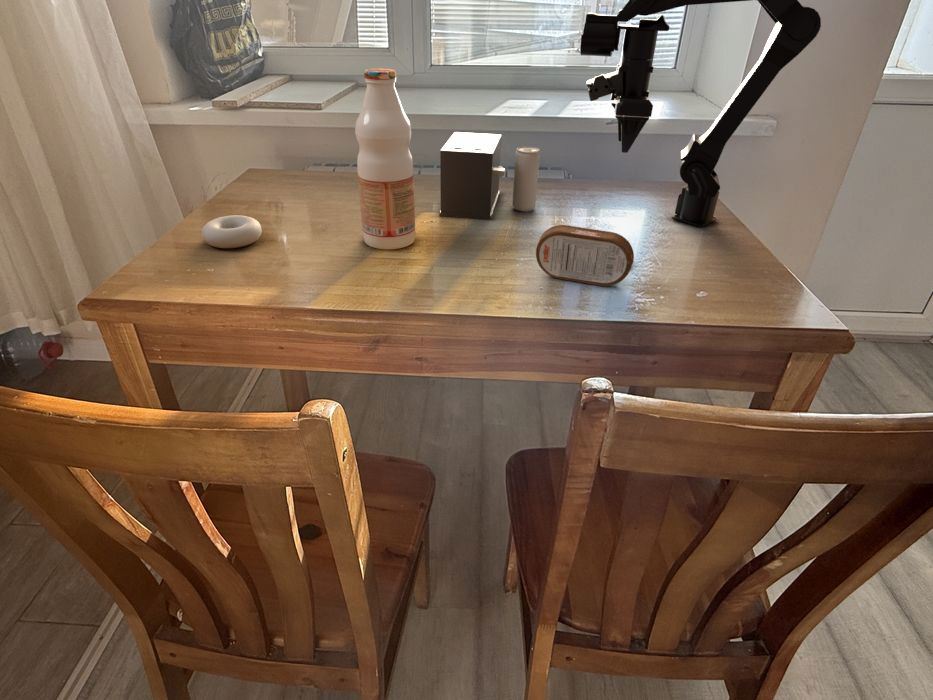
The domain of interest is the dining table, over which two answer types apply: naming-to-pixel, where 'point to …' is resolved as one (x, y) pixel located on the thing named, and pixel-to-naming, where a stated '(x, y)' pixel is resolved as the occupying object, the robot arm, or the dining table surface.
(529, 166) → the beverage can
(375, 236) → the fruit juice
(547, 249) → the tin
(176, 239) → the dining table surface
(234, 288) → the dining table surface
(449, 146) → the toaster
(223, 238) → the donut
